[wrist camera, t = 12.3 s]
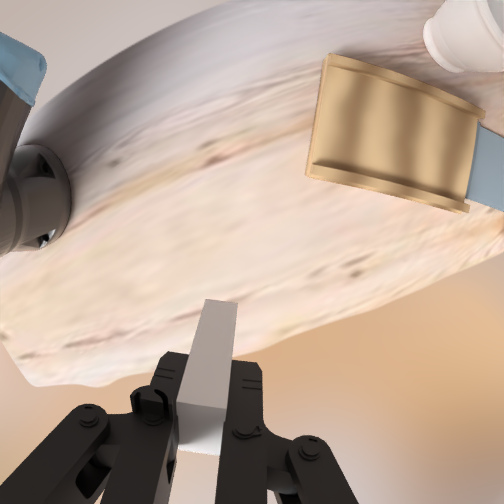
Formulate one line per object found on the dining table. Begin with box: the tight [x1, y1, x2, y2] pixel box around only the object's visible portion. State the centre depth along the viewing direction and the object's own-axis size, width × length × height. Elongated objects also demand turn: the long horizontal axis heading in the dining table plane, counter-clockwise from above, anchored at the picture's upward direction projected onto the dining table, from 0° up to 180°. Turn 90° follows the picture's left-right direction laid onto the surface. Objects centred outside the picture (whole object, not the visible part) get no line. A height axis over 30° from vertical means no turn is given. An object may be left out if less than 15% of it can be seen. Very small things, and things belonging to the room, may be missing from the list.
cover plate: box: [465, 122, 504, 212], centre depth 33 cm, size 12×10×3 cm
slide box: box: [305, 53, 485, 214], centre depth 31 cm, size 20×14×5 cm
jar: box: [423, 0, 504, 73], centre depth 21 cm, size 11×10×15 cm
